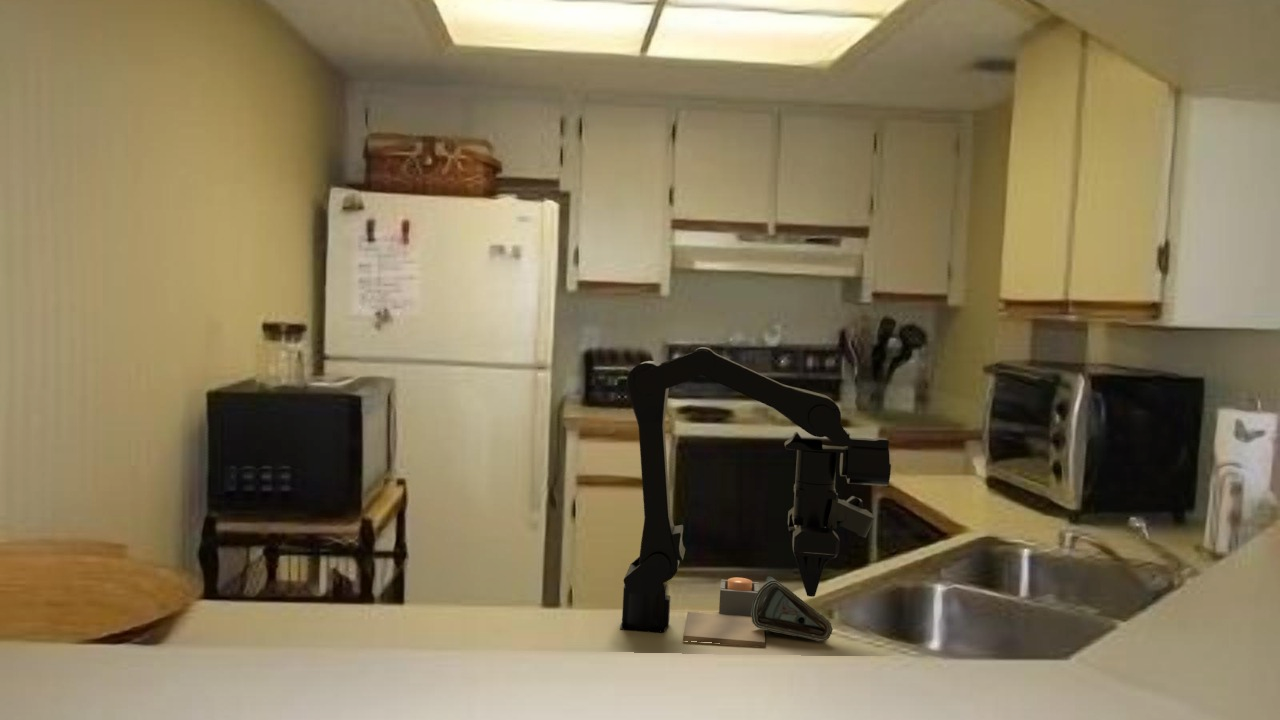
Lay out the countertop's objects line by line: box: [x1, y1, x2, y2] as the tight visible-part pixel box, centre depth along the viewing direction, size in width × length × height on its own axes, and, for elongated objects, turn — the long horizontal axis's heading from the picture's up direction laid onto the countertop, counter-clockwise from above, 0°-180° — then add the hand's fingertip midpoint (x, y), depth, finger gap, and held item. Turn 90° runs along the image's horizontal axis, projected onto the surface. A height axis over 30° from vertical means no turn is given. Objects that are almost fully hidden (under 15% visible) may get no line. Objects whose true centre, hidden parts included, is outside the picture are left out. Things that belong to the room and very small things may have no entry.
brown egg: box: [727, 577, 753, 591], centre depth 154 cm, size 4×4×4 cm
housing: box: [718, 579, 760, 617], centre depth 154 cm, size 6×6×4 cm
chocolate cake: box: [751, 575, 834, 642], centre depth 145 cm, size 10×7×12 cm
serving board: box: [682, 611, 766, 648], centre depth 143 cm, size 12×11×1 cm
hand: (808, 587), depth 142 cm, fingers open, 9 cm apart
